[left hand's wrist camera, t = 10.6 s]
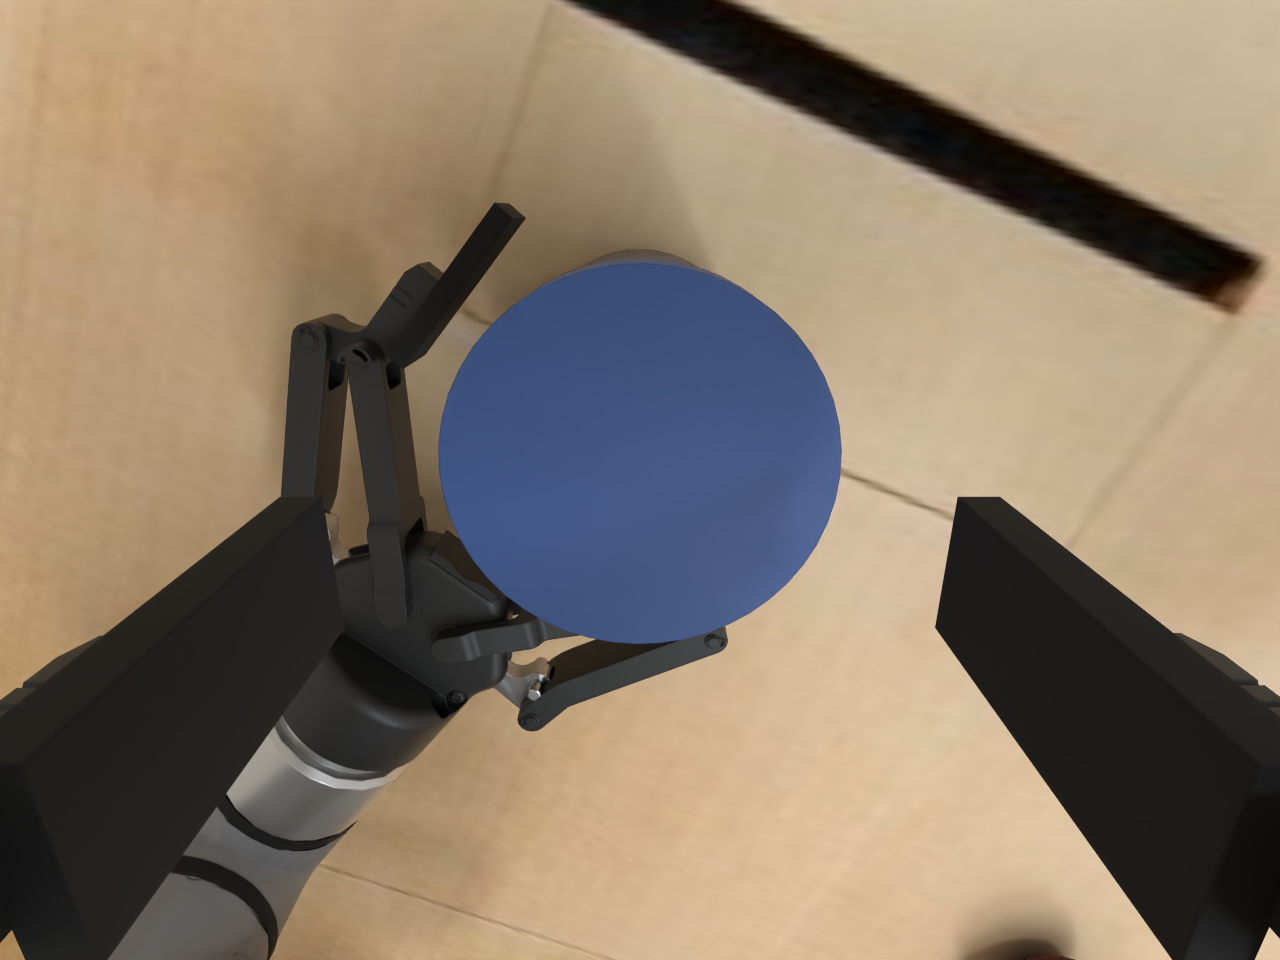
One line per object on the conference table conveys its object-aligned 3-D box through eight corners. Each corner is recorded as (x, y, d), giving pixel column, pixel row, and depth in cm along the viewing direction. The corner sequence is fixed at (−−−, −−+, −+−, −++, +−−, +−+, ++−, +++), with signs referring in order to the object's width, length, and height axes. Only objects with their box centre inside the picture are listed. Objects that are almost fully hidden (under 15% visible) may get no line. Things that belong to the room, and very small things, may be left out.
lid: (665, 664, 22) (667, 705, 20) (387, 475, 20) (361, 502, 18) (899, 421, 19) (927, 442, 17) (607, 169, 17) (603, 163, 15)
